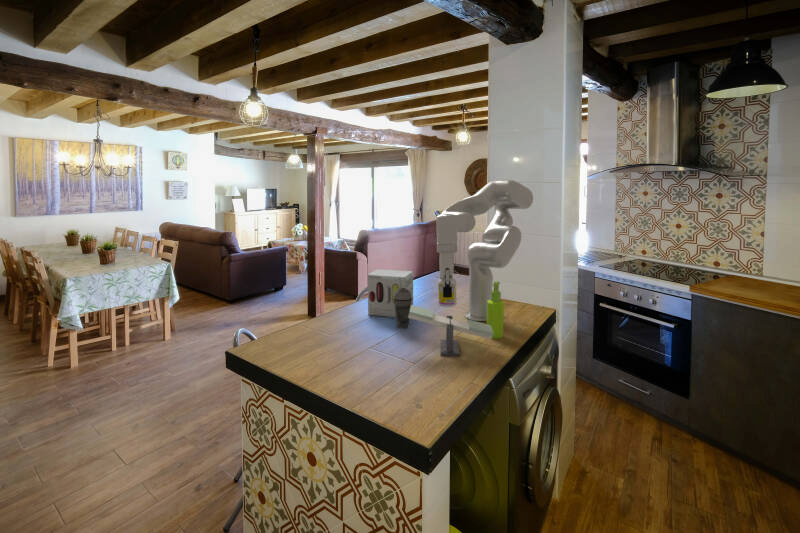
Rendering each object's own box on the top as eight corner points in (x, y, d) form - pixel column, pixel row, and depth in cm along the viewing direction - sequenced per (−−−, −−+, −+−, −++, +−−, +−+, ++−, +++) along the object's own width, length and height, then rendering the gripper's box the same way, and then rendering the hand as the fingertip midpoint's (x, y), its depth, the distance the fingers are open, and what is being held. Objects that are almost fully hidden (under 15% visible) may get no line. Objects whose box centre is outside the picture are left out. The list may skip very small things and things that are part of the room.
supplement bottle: (444, 301, 161) (443, 269, 158) (459, 303, 157) (459, 270, 155) (435, 305, 156) (435, 272, 153) (451, 308, 152) (450, 274, 149)
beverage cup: (410, 330, 158) (410, 279, 154) (391, 329, 159) (391, 278, 156) (413, 324, 165) (413, 275, 161) (395, 323, 166) (395, 274, 163)
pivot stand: (457, 342, 145) (458, 315, 143) (459, 356, 133) (459, 326, 131) (440, 342, 145) (440, 315, 143) (440, 355, 134) (440, 326, 132)
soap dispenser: (503, 333, 154) (505, 281, 150) (501, 339, 147) (503, 285, 144) (487, 331, 156) (489, 280, 152) (485, 337, 149) (486, 284, 146)
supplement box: (367, 315, 177) (366, 274, 174) (377, 307, 190) (377, 268, 186) (405, 319, 172) (405, 276, 169) (414, 310, 185) (414, 270, 181)
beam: (488, 332, 141) (490, 325, 140) (491, 340, 133) (493, 333, 133) (409, 311, 142) (411, 304, 142) (407, 318, 134) (409, 311, 134)
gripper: (436, 244, 161) (437, 288, 164) (436, 252, 144) (437, 301, 148) (456, 243, 160) (456, 288, 164) (458, 251, 143) (458, 301, 147)
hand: (447, 293), depth 156 cm, fingers closed on supplement bottle, 6 cm apart
